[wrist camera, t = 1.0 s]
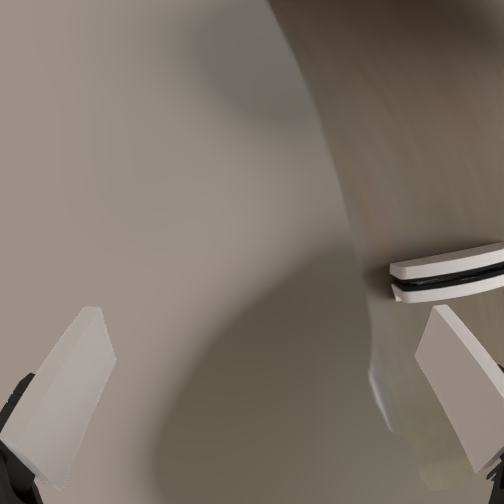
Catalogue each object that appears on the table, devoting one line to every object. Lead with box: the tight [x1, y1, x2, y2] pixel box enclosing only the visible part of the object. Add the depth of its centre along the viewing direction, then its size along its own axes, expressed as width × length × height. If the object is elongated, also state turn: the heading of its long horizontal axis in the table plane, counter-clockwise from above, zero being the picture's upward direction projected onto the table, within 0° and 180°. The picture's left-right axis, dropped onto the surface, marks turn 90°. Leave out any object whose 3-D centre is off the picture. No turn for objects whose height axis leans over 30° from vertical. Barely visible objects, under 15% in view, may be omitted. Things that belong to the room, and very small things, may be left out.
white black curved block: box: [390, 242, 504, 303], centre depth 28 cm, size 17×5×10 cm, turn 108°
